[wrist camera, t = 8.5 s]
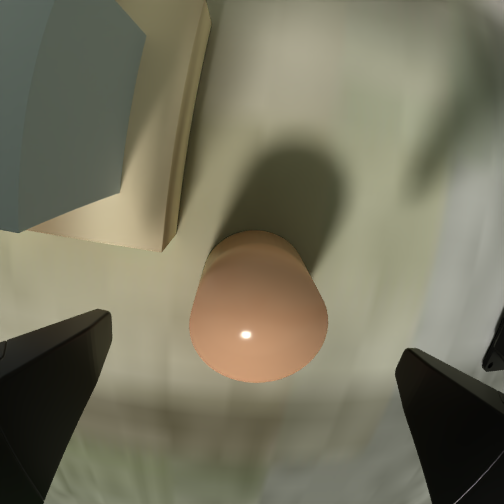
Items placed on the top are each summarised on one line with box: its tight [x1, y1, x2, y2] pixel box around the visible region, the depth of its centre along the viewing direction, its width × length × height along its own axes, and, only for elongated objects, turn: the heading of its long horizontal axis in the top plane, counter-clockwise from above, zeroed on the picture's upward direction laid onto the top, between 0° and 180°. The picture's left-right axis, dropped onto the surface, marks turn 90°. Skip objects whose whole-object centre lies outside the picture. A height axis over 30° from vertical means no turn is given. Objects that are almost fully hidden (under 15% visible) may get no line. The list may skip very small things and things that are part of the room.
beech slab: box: [27, 0, 212, 253], centre depth 10 cm, size 9×9×2 cm
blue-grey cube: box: [0, 0, 146, 233], centre depth 6 cm, size 6×6×6 cm
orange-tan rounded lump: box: [189, 230, 328, 383], centre depth 12 cm, size 4×4×4 cm
